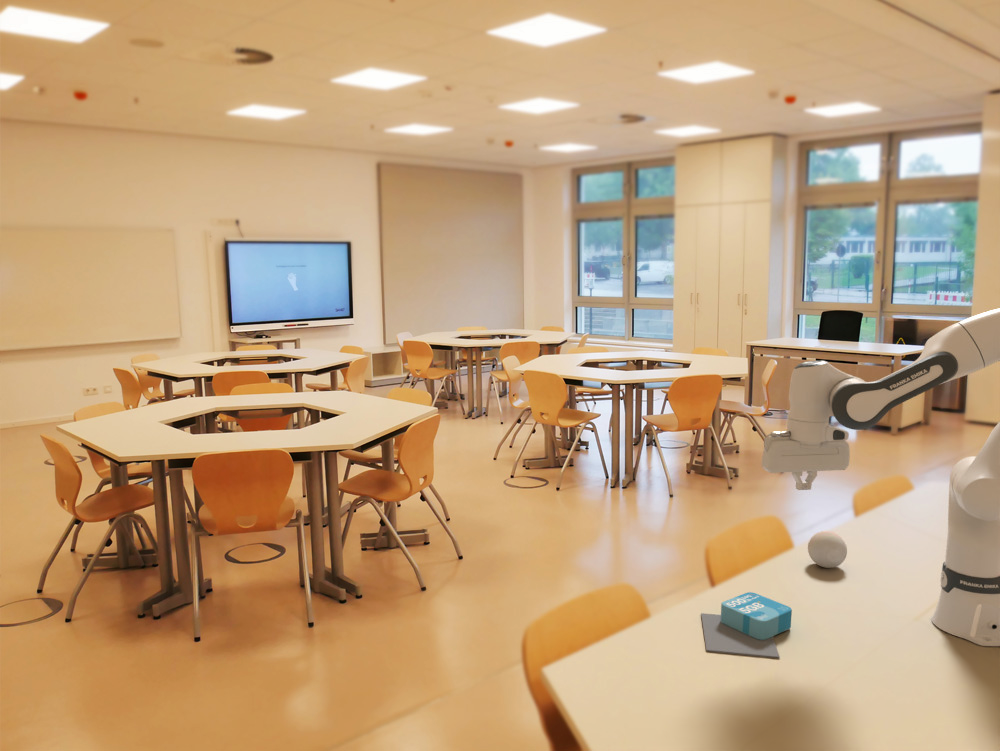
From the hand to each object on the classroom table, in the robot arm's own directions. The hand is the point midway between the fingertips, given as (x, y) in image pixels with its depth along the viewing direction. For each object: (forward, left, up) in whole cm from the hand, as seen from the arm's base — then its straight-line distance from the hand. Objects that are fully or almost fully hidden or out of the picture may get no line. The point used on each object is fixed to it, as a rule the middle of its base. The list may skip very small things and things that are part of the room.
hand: (803, 489), depth 179 cm
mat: (+14, +13, -31) cm, 37 cm away
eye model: (-14, -34, -31) cm, 48 cm away
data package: (+5, +12, -28) cm, 31 cm away
